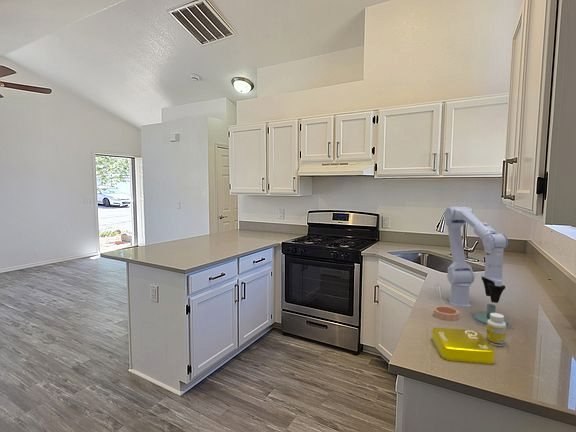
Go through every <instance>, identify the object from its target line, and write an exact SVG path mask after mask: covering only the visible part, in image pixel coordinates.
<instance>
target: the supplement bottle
mask: <svg viewBox="0 0 576 432" xmlns="http://www.w3.org/2000/svg"><path fill="white" fill-rule="evenodd" d="M504 317H505V315H503V314H501V313H498V312H495V313H490V319H489V320H488V321H487V326H486V341H487V342H488V343H489V344H490V345H491V346H495V347H504V346H506V337H507V336H506V335H507V333H506V332H507V328H506V323H505V322H504Z"/></svg>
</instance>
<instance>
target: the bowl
mask: <svg viewBox="0 0 576 432" xmlns="http://www.w3.org/2000/svg"><path fill="white" fill-rule="evenodd" d="M432 317H434V318H437V319H439V320H443V321H449V322H453V321H459V319H460V311H459V310H458V309H456V308H454V307H450V306H445V305H437V306H434V307H433V315H432Z"/></svg>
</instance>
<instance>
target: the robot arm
mask: <svg viewBox="0 0 576 432" xmlns="http://www.w3.org/2000/svg"><path fill="white" fill-rule="evenodd" d="M443 214H444V215H443V216H444V222H445V225H446V226H447V232H448V241H449V247H450V252H451V253H450V254H451V259H452V260H451V261H452V263H451V264H449V266H447V276H446V278H447V280H448V282H449V283H450V297H448V298H447V299H448V300H449V303H450V305H453V306H461V307H462V306H463V307H472V305H471V304H470V288H471V287H470V286H472V284H473V283H474V282H475V279H476V277H475V273H474V271H473V267H472V266H471V264H468V262H466V261H467V260H466V255H465V250H464V243H463V235H462V230H461V229H462V227H463V226H465V225H466V224H468V225H470V227H472V228H473V233H474V234H475V235H476V236H477V237H478V238H480V239H481V241H482V246H483V250H484V253H485V259H484V274H480V277H481V280H482V283H483V288H484V292H485V296H487V297H490V301H491V303H493V304H494V303H496V304H499V302H500V298H501V296H502V294H503V292H504V290H506V285H505V284H503V282H502V280H503V267H504V266H503V265H504V251H505V250H504V249H506V248H507V247H508V244H509V240H508V237H507V236H506V235H505V233H500V232H497V231H496V230H495V229H494V228H492V227H491V226H490V224H489V223H488V222H484V221H483V222H481V221H480V220H479V218H478V217H477V216H476V215H475V214H474V210H473V209H472V207H470V206H447V207H446V209H445V211H444V212H443ZM502 284H503V285H502Z"/></svg>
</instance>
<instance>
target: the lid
mask: <svg viewBox="0 0 576 432" xmlns="http://www.w3.org/2000/svg"><path fill="white" fill-rule="evenodd" d="M486 304H487V303H486ZM496 308H497V306H496V304H492V303H488V304H487V305H486V312H485V311H484V312H482V311H481V312H480V311H479V312H475V313H476V314H475V316H474V318H475V319H476V320H477V321H479V322H481V323H484V324H487V321H488V320H489V319H490V313H496ZM504 322H505V323H506V325H507V324H508V322H509V321H508V318H506V317H505V318H504Z"/></svg>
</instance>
